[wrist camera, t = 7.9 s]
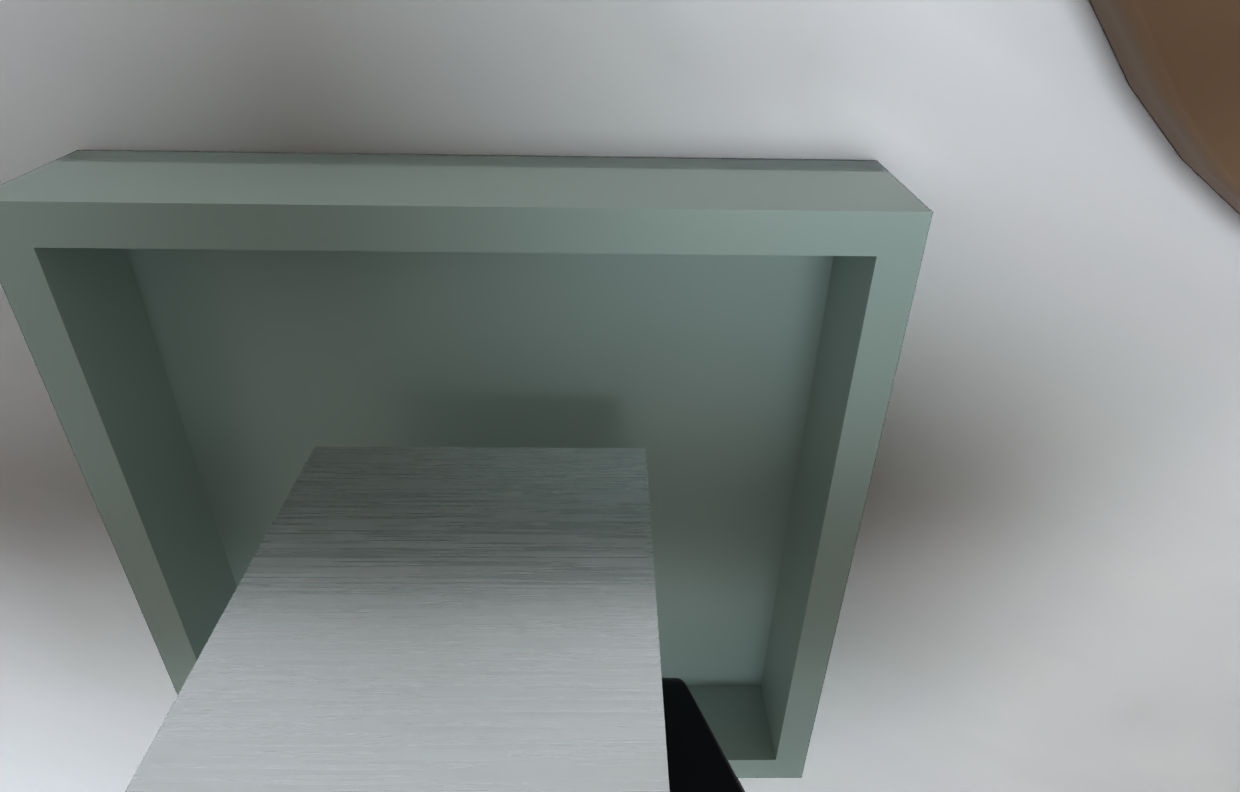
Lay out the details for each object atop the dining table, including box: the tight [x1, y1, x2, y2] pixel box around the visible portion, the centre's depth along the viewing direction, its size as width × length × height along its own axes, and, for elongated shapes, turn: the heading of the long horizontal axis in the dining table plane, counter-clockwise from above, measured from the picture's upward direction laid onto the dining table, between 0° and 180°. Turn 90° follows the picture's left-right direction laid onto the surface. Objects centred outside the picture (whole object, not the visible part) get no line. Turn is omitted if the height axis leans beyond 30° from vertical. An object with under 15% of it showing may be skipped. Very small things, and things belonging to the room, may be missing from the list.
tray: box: [0, 150, 933, 778], centre depth 12 cm, size 10×10×2 cm
